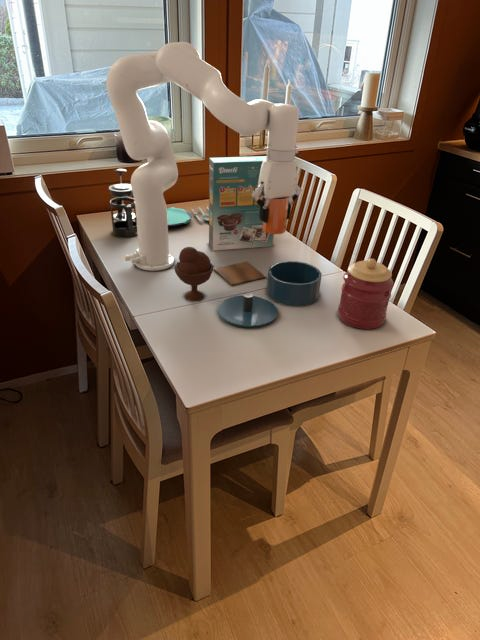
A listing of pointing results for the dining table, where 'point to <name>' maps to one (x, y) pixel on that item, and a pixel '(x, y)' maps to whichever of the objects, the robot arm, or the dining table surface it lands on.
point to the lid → (247, 310)
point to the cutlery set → (182, 216)
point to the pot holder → (239, 273)
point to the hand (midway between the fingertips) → (274, 218)
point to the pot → (293, 283)
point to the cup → (276, 216)
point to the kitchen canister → (365, 294)
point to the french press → (123, 219)
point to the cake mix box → (235, 204)
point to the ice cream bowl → (193, 271)
